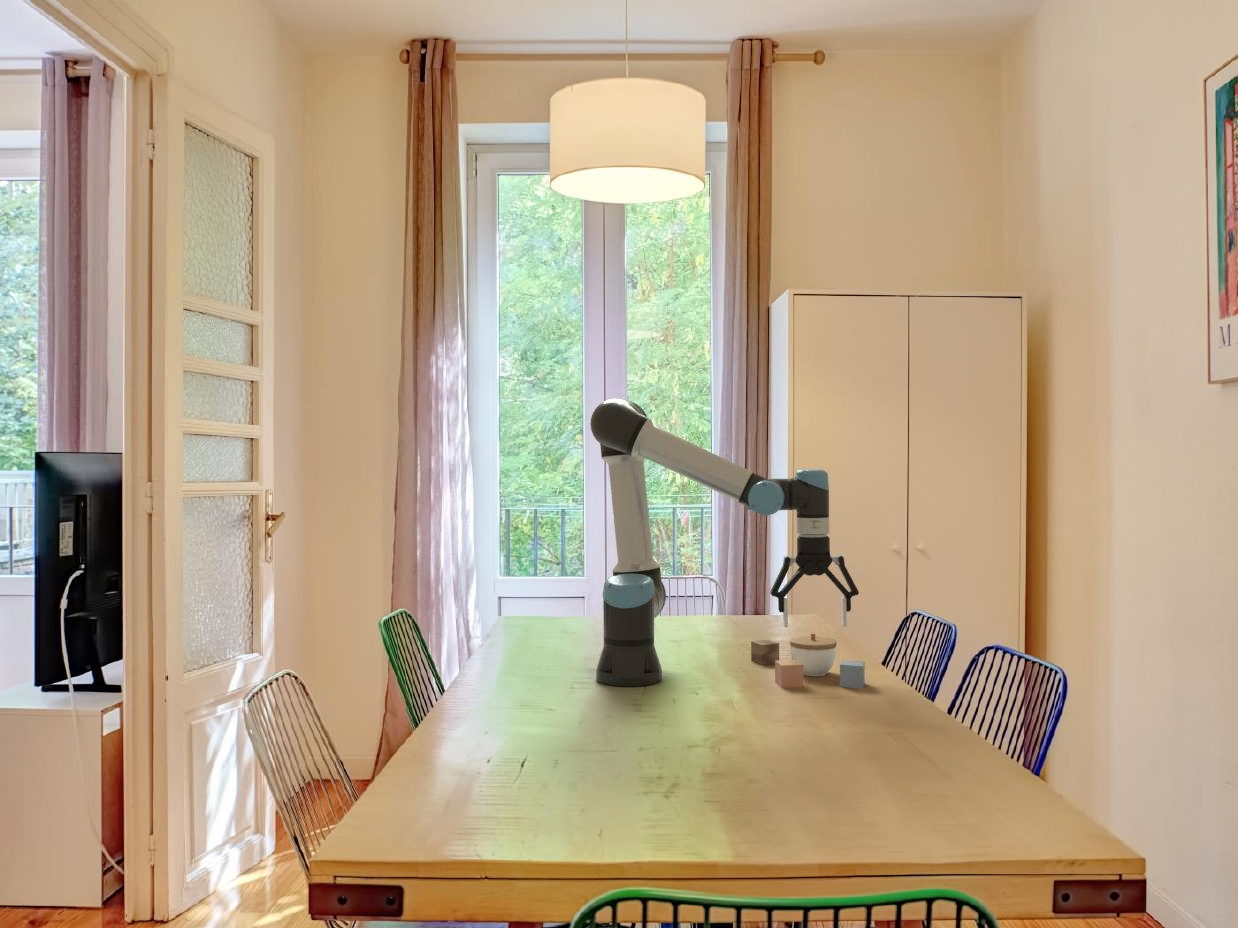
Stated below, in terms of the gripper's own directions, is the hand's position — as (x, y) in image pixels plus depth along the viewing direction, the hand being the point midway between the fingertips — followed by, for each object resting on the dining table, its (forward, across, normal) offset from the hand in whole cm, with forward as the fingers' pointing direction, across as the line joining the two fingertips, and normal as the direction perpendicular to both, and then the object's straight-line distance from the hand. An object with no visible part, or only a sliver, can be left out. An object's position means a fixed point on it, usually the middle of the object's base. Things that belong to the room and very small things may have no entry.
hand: (814, 625), depth 231 cm
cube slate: (+11, +6, -11) cm, 17 cm away
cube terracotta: (+11, -8, -11) cm, 17 cm away
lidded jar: (+11, 0, 0) cm, 11 cm away
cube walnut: (+11, -10, +12) cm, 19 cm away
